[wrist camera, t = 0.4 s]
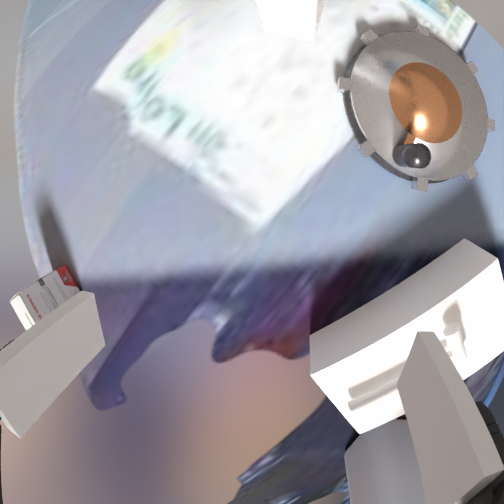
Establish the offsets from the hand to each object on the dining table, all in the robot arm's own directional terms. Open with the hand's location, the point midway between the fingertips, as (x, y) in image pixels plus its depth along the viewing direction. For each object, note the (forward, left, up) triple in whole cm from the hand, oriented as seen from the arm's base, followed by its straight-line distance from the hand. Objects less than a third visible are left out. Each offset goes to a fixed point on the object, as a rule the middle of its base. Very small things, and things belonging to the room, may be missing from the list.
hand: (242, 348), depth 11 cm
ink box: (+14, -35, -25) cm, 45 cm away
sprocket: (-15, +16, -24) cm, 32 cm away
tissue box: (+14, +19, -25) cm, 34 cm away
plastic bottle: (+41, +24, -25) cm, 53 cm away
